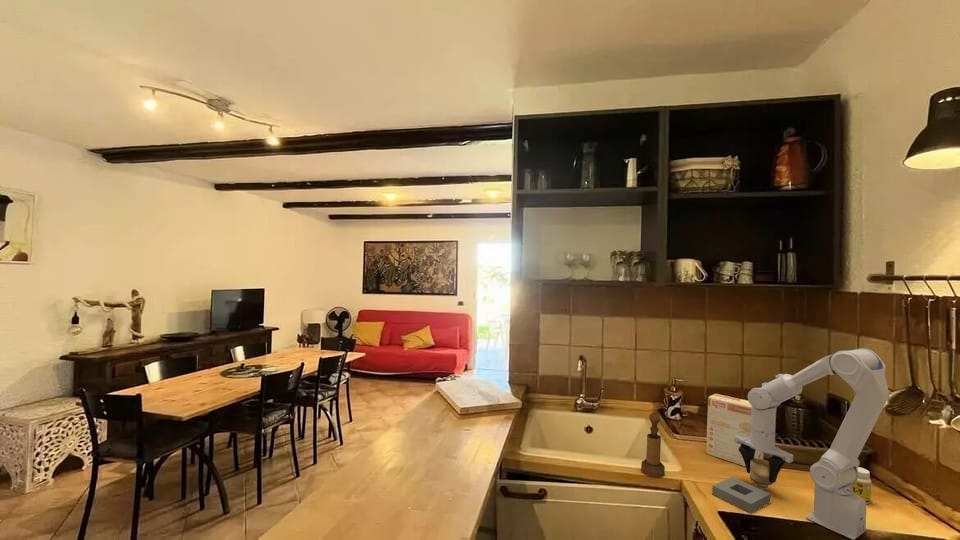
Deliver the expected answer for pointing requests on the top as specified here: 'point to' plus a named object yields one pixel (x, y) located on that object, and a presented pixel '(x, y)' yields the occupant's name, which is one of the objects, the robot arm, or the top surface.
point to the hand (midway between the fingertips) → (761, 477)
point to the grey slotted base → (741, 494)
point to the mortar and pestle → (653, 451)
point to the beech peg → (760, 473)
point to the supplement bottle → (863, 485)
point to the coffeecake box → (728, 427)
